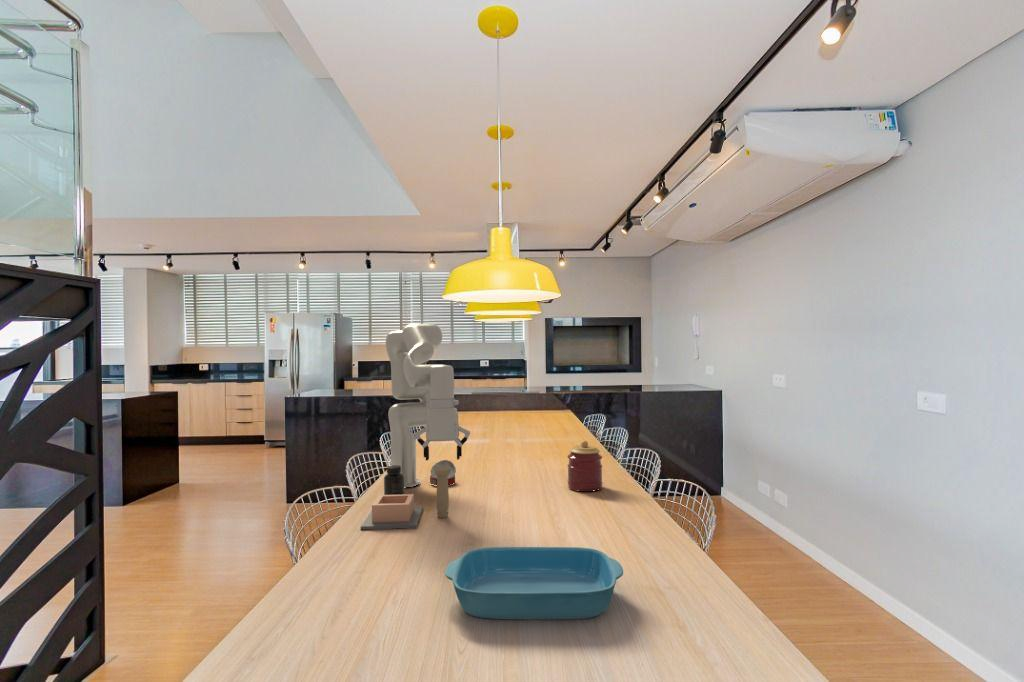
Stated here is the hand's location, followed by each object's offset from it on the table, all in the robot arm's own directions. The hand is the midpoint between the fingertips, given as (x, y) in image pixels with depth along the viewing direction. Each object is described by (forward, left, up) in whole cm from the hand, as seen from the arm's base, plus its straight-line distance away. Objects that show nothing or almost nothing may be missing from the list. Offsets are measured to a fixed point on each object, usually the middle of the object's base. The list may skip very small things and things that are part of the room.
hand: (442, 459), depth 161 cm
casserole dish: (+55, +23, -19) cm, 62 cm away
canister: (-29, +51, -18) cm, 61 cm away
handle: (0, 0, -18) cm, 18 cm away
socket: (+1, -15, -18) cm, 24 cm away
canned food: (-41, -3, -18) cm, 45 cm away
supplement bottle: (-18, -18, -18) cm, 32 cm away
